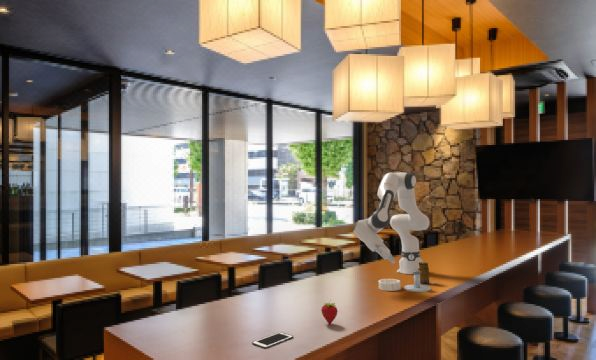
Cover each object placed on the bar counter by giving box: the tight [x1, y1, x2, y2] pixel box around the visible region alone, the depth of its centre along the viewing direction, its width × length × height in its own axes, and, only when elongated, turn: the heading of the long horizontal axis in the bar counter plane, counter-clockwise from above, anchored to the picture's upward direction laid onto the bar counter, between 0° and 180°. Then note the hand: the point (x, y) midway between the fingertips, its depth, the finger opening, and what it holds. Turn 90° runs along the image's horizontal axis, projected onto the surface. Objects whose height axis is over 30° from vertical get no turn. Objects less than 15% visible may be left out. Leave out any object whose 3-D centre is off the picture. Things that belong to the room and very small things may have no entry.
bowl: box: [377, 278, 402, 292], centre depth 224 cm, size 12×12×4 cm
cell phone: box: [251, 331, 294, 350], centre depth 147 cm, size 8×15×1 cm, turn 136°
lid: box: [403, 270, 431, 293], centre depth 221 cm, size 14×14×10 cm
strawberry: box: [320, 299, 338, 325], centre depth 165 cm, size 6×8×10 cm
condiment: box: [418, 261, 435, 286], centre depth 234 cm, size 7×8×12 cm
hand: (394, 261), depth 224 cm, fingers open, 8 cm apart
